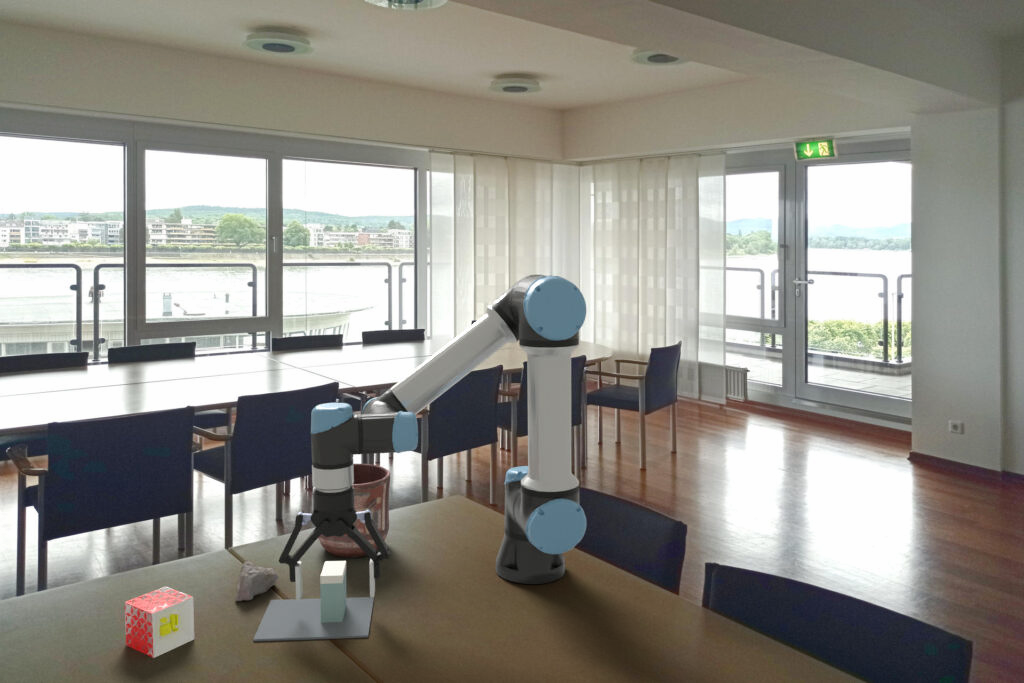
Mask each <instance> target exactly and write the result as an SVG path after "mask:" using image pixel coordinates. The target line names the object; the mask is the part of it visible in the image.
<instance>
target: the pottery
mask: <svg viewBox="0 0 1024 683" xmlns="http://www.w3.org/2000/svg"><path fill="white" fill-rule="evenodd" d="M353 467H354V483H353V485H352V486H353V487H354V507H355V510H356V512H361V511H365V510H366V509H371V511H372V518H373V521H374V523H375V525H376V527H377V528H378V530H379V532H380V534H381V536H382V537H383V539H384V541H385V540H386V538H387V536H388V533H389V529H390V510H389V509H390V508H389V507H390V506H389V504H390V486H391V485H390V484H391V472H390V470H388V469H387V468H385V467H384V466H381V465H376V464H369V463H353ZM354 525H355V526H356V527H357V529H358V531H359V532H360V533H361V534H362V535H363V536H364V537H365V538H366V539H367V540H368V541H369V542H370V543H371V545H372V546H373V547H374V548H375V549H376V550H377V551H378V550H379V549H378V548H377V546H376V544H375V542H374V540H373V539H372V537H371V535H370V533H369V531H368V530H367V528H366V525H365V523H362V522H361V520H360V519H356V521H355V522H354ZM317 540H318V541H319V543H320V544H321V546H322V548H324V549H325V550H326V551H327V552H328V553H330V554H331V555H333V556H335V557H341V558H358V557H364V556H368V555H367V554H366V553H365V552H364V551H363V550H362V549H361V548H360V547H359V546H358V545H357V544H356V543H355V542H354V540H353V539H351V538H350V537H349V536H348V535H347V534H345V535H343V536H340V537H338V536H331V537H326V536H324V535H322V534H321V535H320V536H319V538H318V539H317Z"/></svg>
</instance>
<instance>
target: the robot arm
mask: <svg viewBox="0 0 1024 683" xmlns="http://www.w3.org/2000/svg"><path fill="white" fill-rule="evenodd" d="M586 318H587V304H586V299H585V297H584V295H583V293H582V291H581V290H580V288H578V287H577V286H576V284H574V283H573V282H572V281H570V280H568V279H566V278H564V277H561V276H558V275H543V274H530V275H528V276H525V277H523V278H521V279H519V280H518V281H516V282H514V284H513V285H512V286H510V287H508V289H507V290H506V291H505V292H503V293H502V294H501V295H500V296H499V297H497V298H496V299H495V300H494V301H492V302H491V304H489V305H487V306H486V312H485V314H483V316H481V317H479V318H478V320H476V321H474V322H473V323H472V324H471V325H469V326H468V327H467V328H466V329H464V330H463V331H462V332H461V333H460V334H458V335H457V336H455V337H454V338H453V339H451V340H450V341H449V342H448V343H447V344H445V345H444V346H443V347H442V348H440V349H439V350H438V351H436V352H435V353H434V354H432V355H431V356H430V357H429V358H427V359H426V360H425V361H424V362H422V363H421V364H419V366H417V367H416V368H414V369H413V370H412V371H411V372H409V373H408V374H406V375H405V376H404V377H403V378H402V379H400V380H399V381H398V382H396V383H395V384H394V385H392V386H391V387H390V388H389V389H388V390H386V391H385V392H383V393H382V394H381V395H380V396H376V397H373V398H371V399H368V401H367V402H366V403H364V405H363V408H362V411H361V413H354V411H353V407H352V405H351V404H350V403H346V402H327V403H325V402H324V403H320V404H317V405H316V406H314V407H313V408H312V410H311V413H310V414H311V416H310V417H311V420H310V440H311V441H310V442H311V444H310V445H311V446H310V447H311V461H312V462H311V473H312V476H311V477H312V478H311V480H312V487H313V490H312V508H313V509H312V513H310V512H309V513H307V512H304V511H303V510H299V511H298V513H297V514H296V516H295V524H294V528H293V530H292V531H291V534H290V536H289V538H288V540H287V542H286V544H285V546H284V549H283V550H282V552H281V553H280V556H279V559H278V562H279V564H285V565H287V566H288V567H289V581H290V583H295V599H296V601H299V600H301V599H302V597H303V594H304V593H303V566H302V562H303V561H301V558H302V557H303V556H304V555H305V554H306V552H308V550H309V549H310V547H312V545H313V544H314V543H315V542H316V541H317V540H319V539H318V538H319V536H320V535H321V534H322V535H324V536H326V537H331V536H338V537H340V536H343V535H345V534H347V535H348V536H349V537H350V538H351V539H353V540H354V542H355V543H356V544H357V545H358V546H359V547H360V548H361V549H362V550H363V551H364V552H365V553H366V554H367V555H366V556H368V558H369V559H370V560H369V564H368V565H369V566H368V568H369V597H374V598H375V593H376V579H380V577H381V571H382V570H381V562H382V561H384V560H388V559H389V558H390V553H391V552H390V548H389V546H388V545H387V543H386V542H385V540H384V539H383V537H382V536H381V534H380V532H379V530H378V528H377V527H376V525H375V523H374V521H373V518H372V511H371V509H366V510H365V511H361V512H356V510H355V507H354V487H353V486H352V485H353V483H354V467H353V464H354V456H355V455H371V454H388V453H389V454H393V453H397V454H402V453H405V452H411V451H415V450H416V449H417V447H418V443H419V442H418V441H419V425H418V420H417V416H416V415H417V414H418V413H420V412H421V411H422V410H424V409H425V408H426V407H427V406H429V405H431V403H433V402H434V401H435V400H436V399H438V398H439V397H441V396H442V395H443V394H444V393H445V392H447V391H448V390H449V389H451V388H452V387H453V386H455V384H457V383H458V382H460V381H461V380H462V379H463V378H465V377H466V376H467V375H469V374H470V373H471V372H472V371H474V370H475V369H476V368H478V367H479V366H480V365H481V364H483V363H484V362H485V361H486V360H488V359H489V358H490V357H491V356H493V355H494V354H496V353H497V352H498V351H500V350H501V349H502V348H503V347H504V346H506V345H508V344H509V343H512V344H516V343H517V342H518V344H519V348H521V349H522V350H523V352H525V353H526V358H527V360H526V361H527V367H526V370H527V379H526V380H527V383H526V384H527V460H528V461H527V462H528V464H527V465H524V466H523V465H522V466H515V467H511V468H509V469H508V470H507V471H506V473H505V478H504V479H505V480H504V531H503V532H504V535H503V538H502V541H501V544H500V546H499V550H498V553H497V556H496V559H495V572H496V574H497V576H500V578H502V579H503V580H504V579H505V580H507V581H509V582H513V583H517V584H524V585H525V584H526V585H543V584H548V583H552V582H555V581H557V580H559V579H562V578H563V577H564V575H565V572H566V560H565V557H564V553H567V552H568V551H569V552H570V551H571V550H572V549H574V548H576V547H575V546H577V545H578V544H579V543H580V542H581V541H582V539H583V538H584V536H585V535H586V530H587V522H588V521H587V516H586V513H585V510H584V509H583V507H582V506H581V505H580V480H579V479H578V478H577V477H576V476H575V475H574V474H573V472H572V354H573V352H574V351H575V350H577V348H578V347H579V346H580V330H581V328H582V327H583V325H584V323H585V321H586ZM356 519H360V520H361V522H362V523H365V525H366V528H367V530H368V531H369V533H370V535H371V537H372V539H373V540H374V542H375V544H376V546H377V548H378V549H377V550H376V549H375V548H374V547H373V546H372V545H371V543H370V542H369V541H368V540H367V539H366V538H365V537H364V536H363V535H362V534H361V533H360V532H359V531H358V529H357V527H356V526H355V525H354V522H355V521H356ZM309 521H311V523H312V524H313V525H314V529H313V531H312V532H311V533H310V534H309V536H307V538H306V539H305V540H304V541H303V542H302V544H301V545H300V546H299V547H298V548H297V549H296V550H295V552H294V553H293V554H292V555H291V554H290V552H291V551H292V549H293V546H294V545H295V542H296V540H297V538H298V536H299V534H300V532H301V530H302V528H303V526H306V525H307V524H308V522H309Z"/></svg>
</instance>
